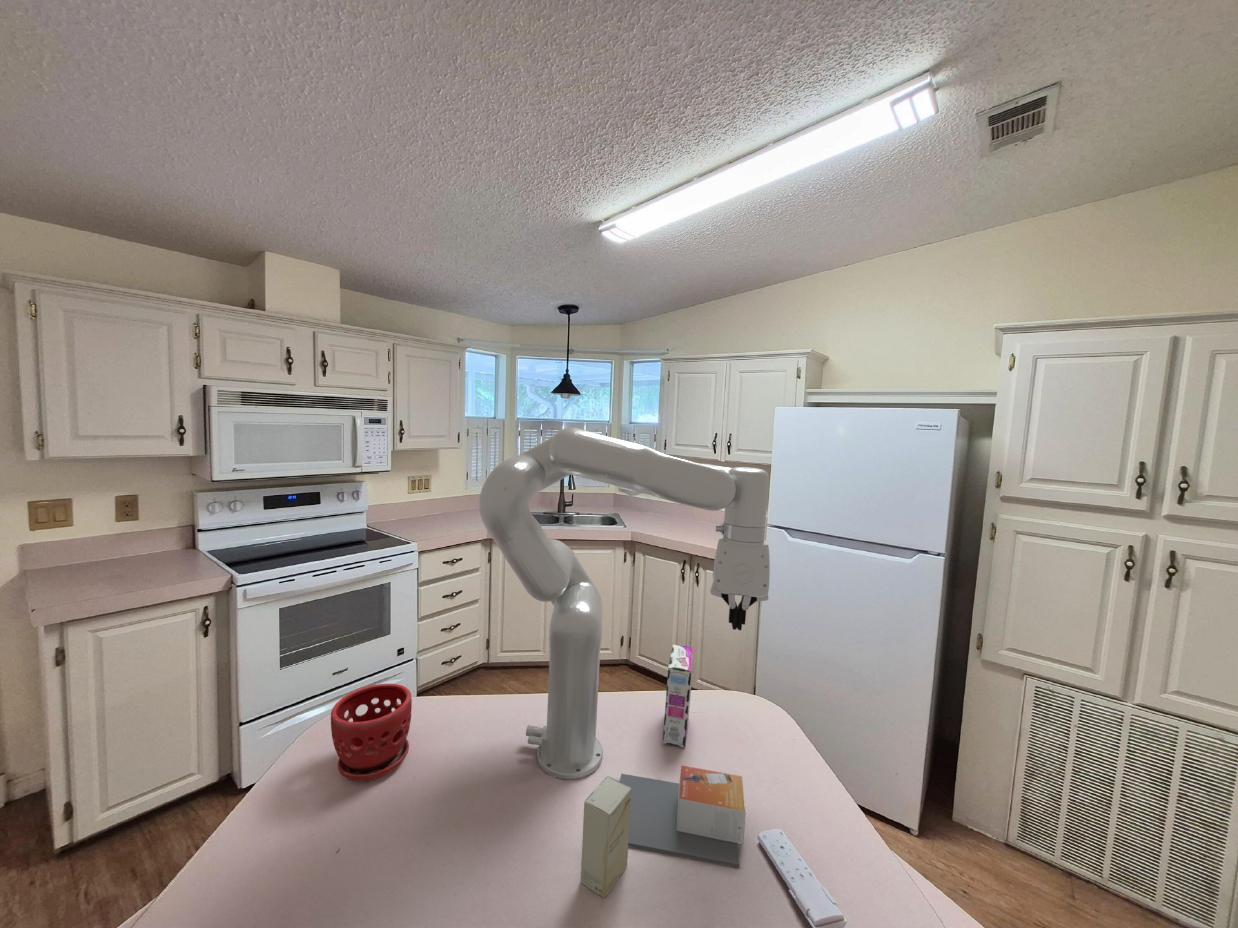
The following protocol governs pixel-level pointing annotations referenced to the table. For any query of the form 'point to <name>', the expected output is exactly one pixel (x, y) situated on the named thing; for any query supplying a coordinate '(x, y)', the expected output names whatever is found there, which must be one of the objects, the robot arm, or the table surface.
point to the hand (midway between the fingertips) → (736, 626)
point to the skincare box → (605, 835)
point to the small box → (711, 804)
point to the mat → (669, 824)
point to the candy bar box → (678, 696)
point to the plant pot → (371, 731)
